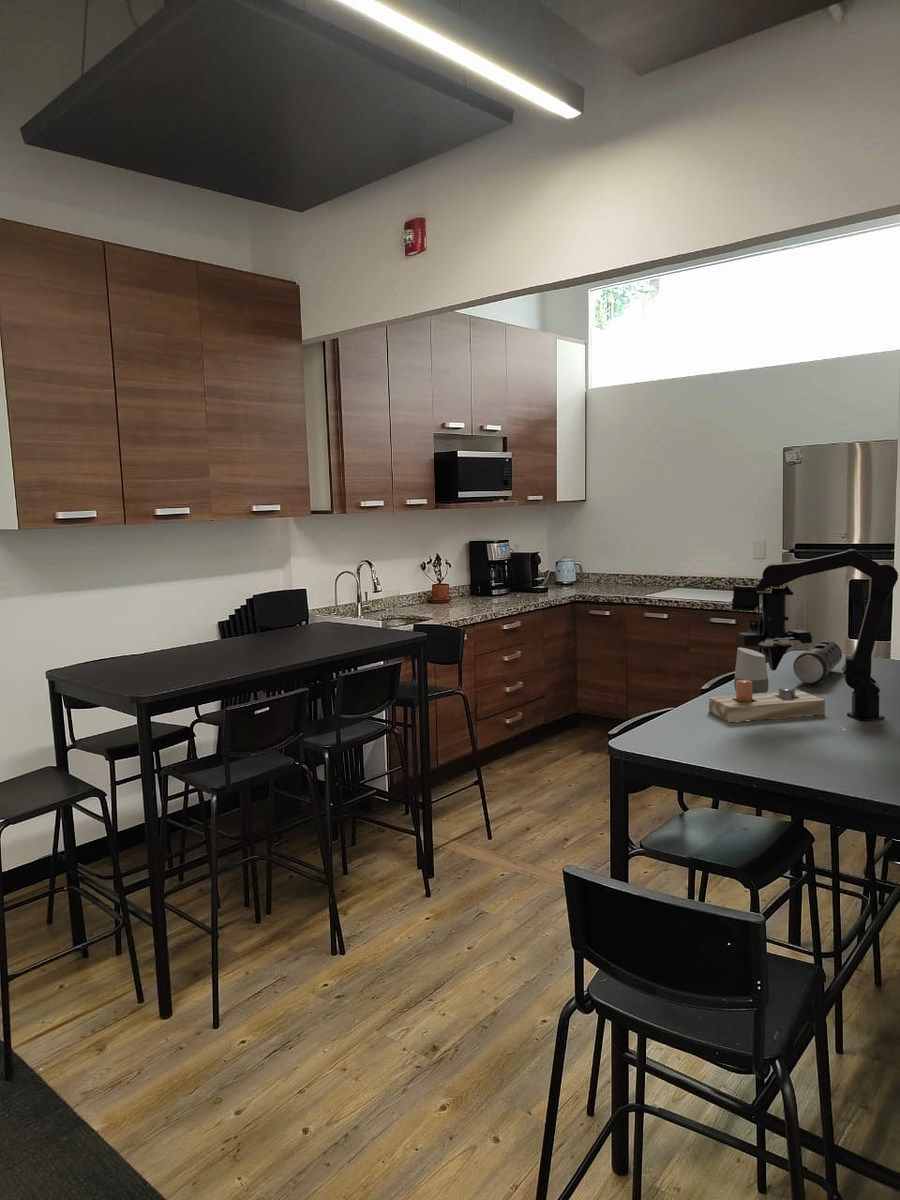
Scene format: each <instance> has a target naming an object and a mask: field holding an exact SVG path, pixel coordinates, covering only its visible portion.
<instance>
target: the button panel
mask: <svg viewBox="0 0 900 1200" xmlns="http://www.w3.org/2000/svg"><path fill="white" fill-rule="evenodd" d="M825 701H826V699H824V698H821V697H818V696H816V695H813V694H810V693H808V692H805V691H802V690H800V689H795V699H785V700H783V699H781V698H779V691H774V692H772V691H771V692H769V691H768V692H767V693H757V694H752V702H747V703H739V702H737V701H736V694H735V695H724V696H723V695H721V696H712V697H711V696H709V697H708V712H709V713H710V712H711V714H712V713H713V715H714V714H715V715H714V716H716V715H717V716H716V717H718V716H719V717H718V718H720V717H721V718H720V719H722V718H723V719H722V720H724V719H725V720H724V721H726V720H727V721H726V722H728V721H729V722H734V723H737V722H736V721H746V720H758V721H763V720H762V719H770V720H774V719H773V718H782V719H790V718H789V717H794V718H803V717H802V716H806V717H811V716H810V715H818V716H823V715H822V714H826V710H825V709H826V706H825V705H826V702H825ZM729 722H728V723H729ZM746 722H747V721H746Z"/></svg>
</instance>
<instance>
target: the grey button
mask: <svg viewBox="0 0 900 1200" xmlns="http://www.w3.org/2000/svg"><path fill="white" fill-rule="evenodd" d="M795 690H796V689H794V688H792V687H781V688H778V692H779V698H781V699H783V700H785V699H795Z"/></svg>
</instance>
